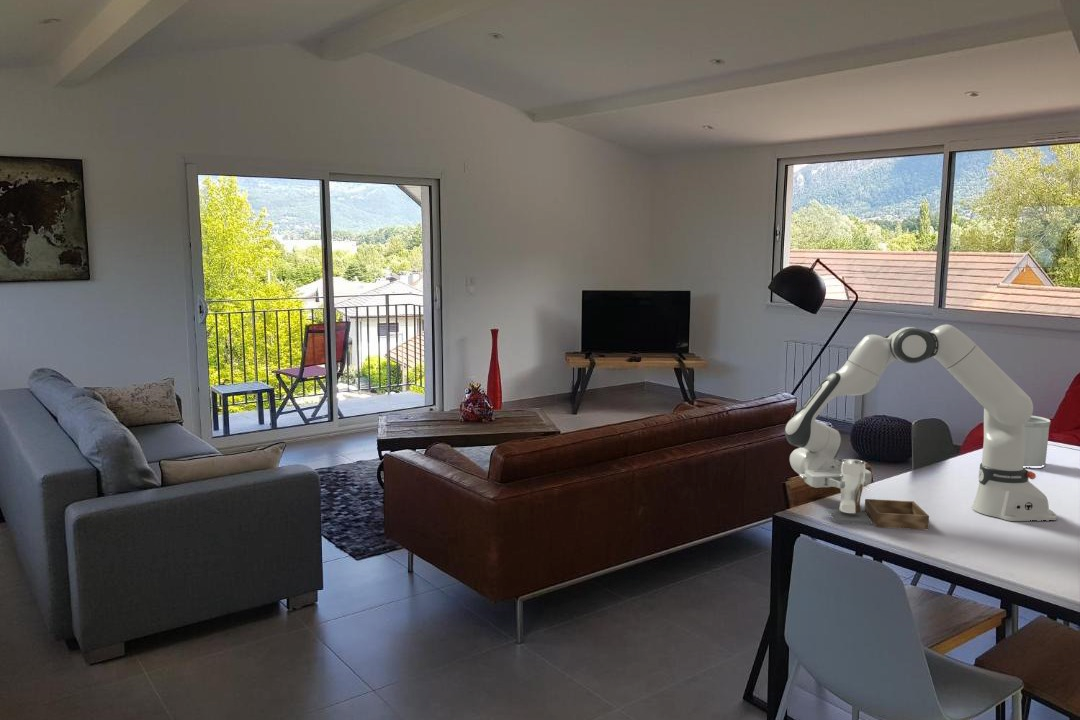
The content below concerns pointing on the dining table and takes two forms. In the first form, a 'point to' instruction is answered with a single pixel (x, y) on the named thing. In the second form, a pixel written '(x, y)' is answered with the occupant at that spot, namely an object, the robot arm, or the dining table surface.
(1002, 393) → the robot arm
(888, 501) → the wooden tray
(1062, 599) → the dining table surface
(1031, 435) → the utensil holder
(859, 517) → the slate mat
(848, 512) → the beer glass
